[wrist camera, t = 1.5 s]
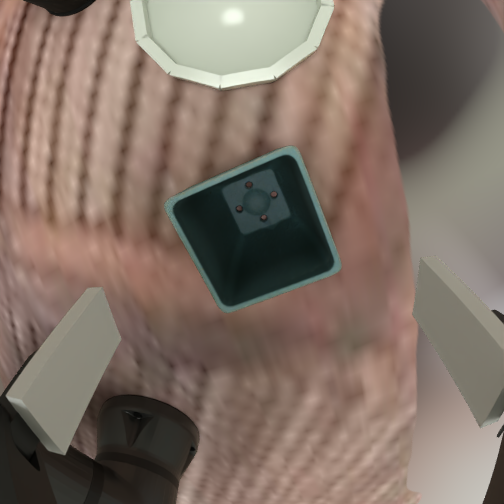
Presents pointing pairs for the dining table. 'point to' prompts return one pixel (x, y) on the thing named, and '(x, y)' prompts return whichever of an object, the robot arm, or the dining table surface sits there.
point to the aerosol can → (62, 6)
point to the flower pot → (255, 230)
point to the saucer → (229, 37)
